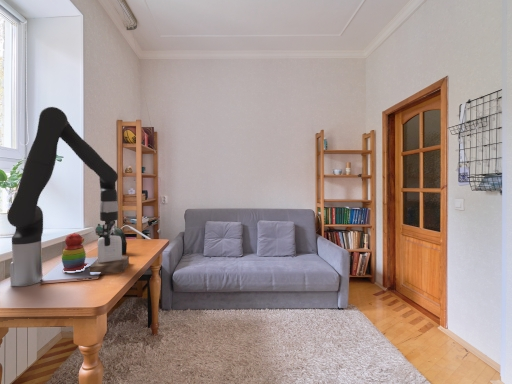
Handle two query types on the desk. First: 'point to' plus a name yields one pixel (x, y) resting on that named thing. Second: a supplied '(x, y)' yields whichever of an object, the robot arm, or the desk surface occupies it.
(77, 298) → the desk surface
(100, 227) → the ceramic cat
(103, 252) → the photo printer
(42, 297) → the desk surface
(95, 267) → the walnut block
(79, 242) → the stacking bear
